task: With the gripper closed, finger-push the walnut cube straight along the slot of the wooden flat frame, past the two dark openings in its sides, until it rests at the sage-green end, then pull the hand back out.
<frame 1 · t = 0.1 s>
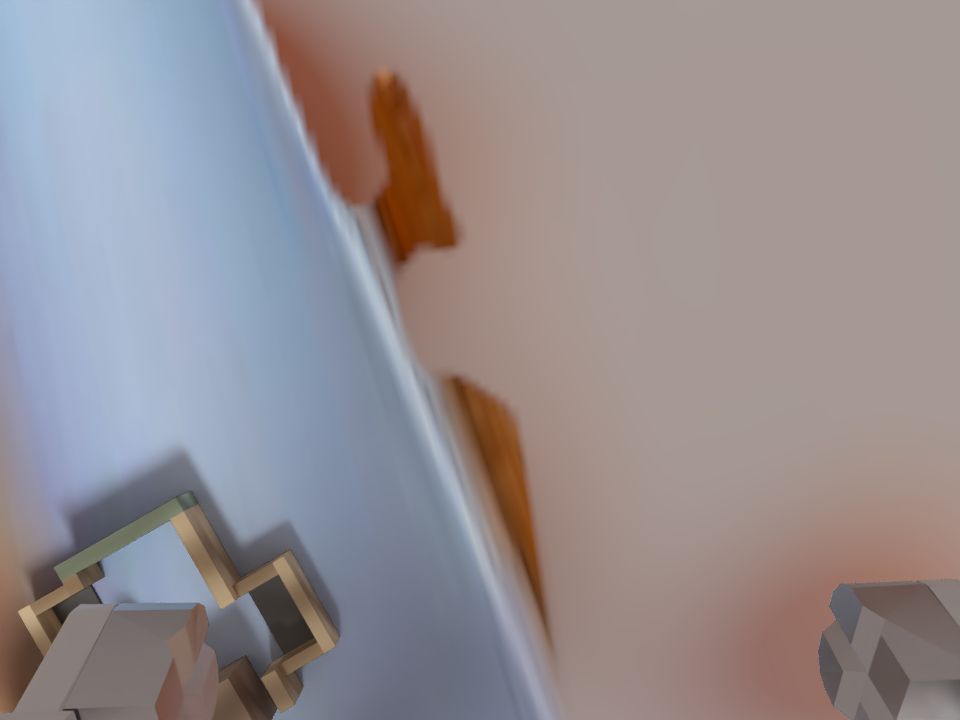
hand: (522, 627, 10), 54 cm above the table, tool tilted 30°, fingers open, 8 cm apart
wooden flat frame: (189, 622, 64), on the table
block: (234, 697, 64), on the table
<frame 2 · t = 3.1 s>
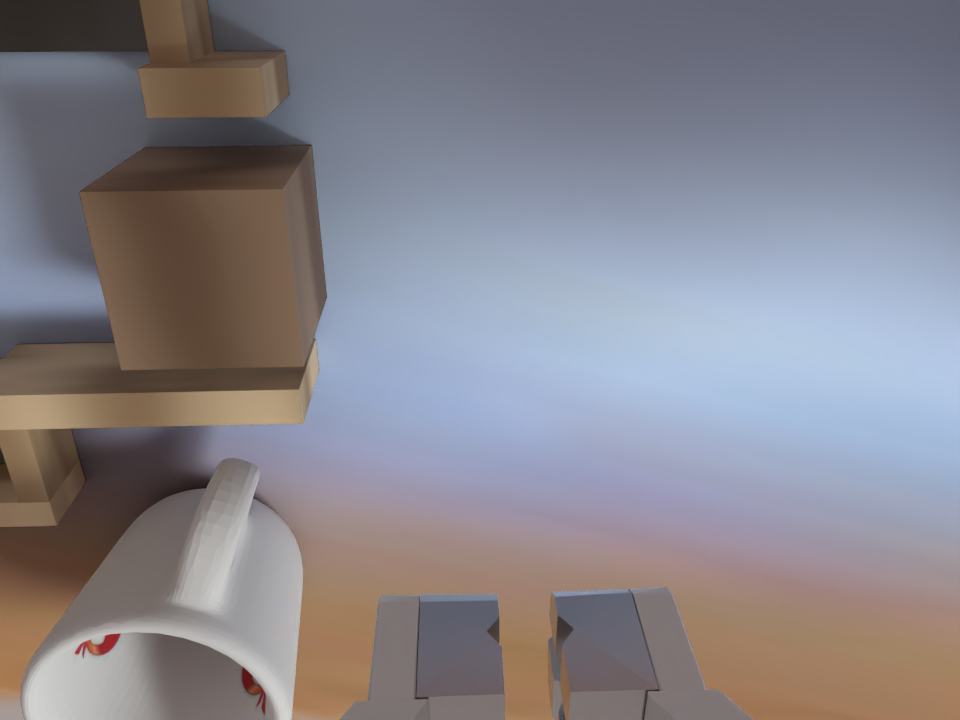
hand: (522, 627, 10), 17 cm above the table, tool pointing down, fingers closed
cup: (231, 513, 31), on the table
wooden flat frame: (15, 229, 25), on the table
block: (241, 225, 25), on the table
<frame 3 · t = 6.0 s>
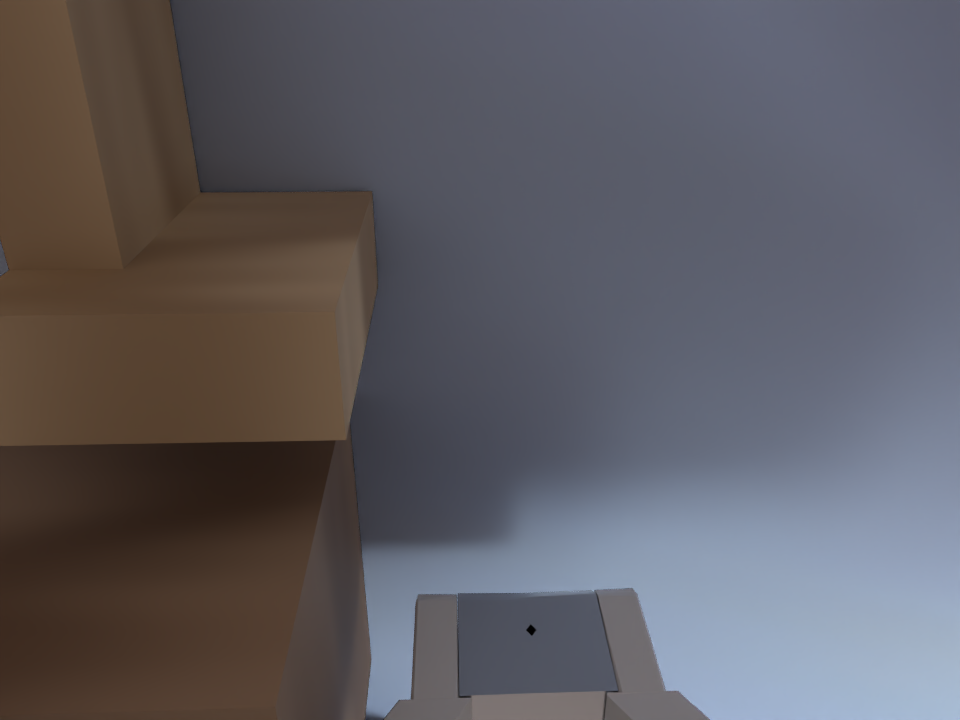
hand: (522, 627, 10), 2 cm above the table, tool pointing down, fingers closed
block: (189, 542, 12), on the table, touching gripper
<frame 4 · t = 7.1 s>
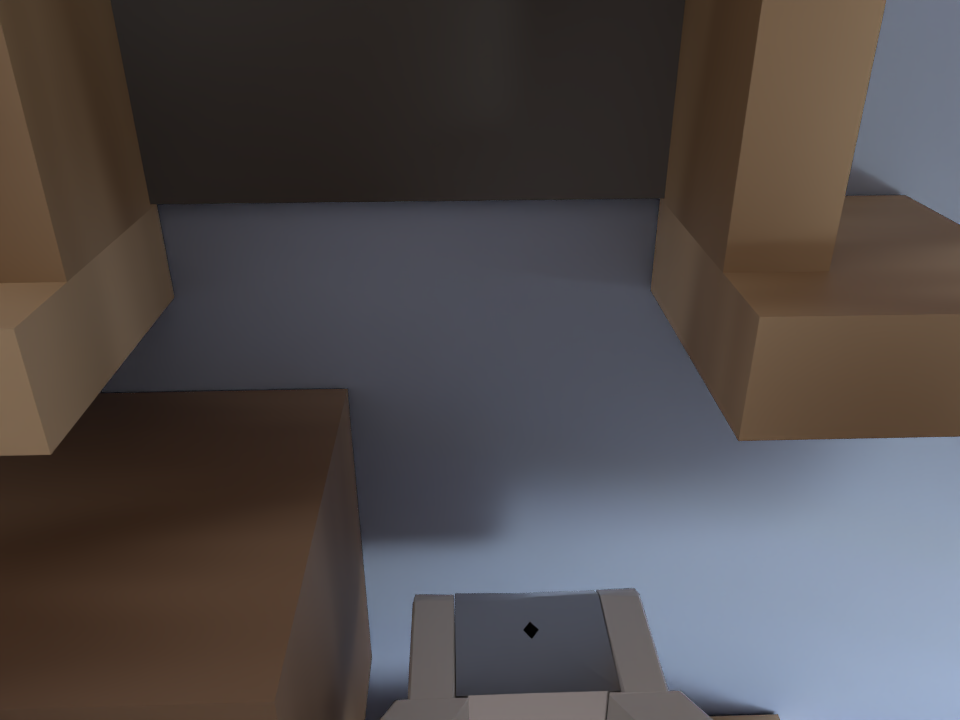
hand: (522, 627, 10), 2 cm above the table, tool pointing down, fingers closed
wooden flat frame: (222, 547, 12), on the table
block: (190, 539, 12), on the table, touching gripper
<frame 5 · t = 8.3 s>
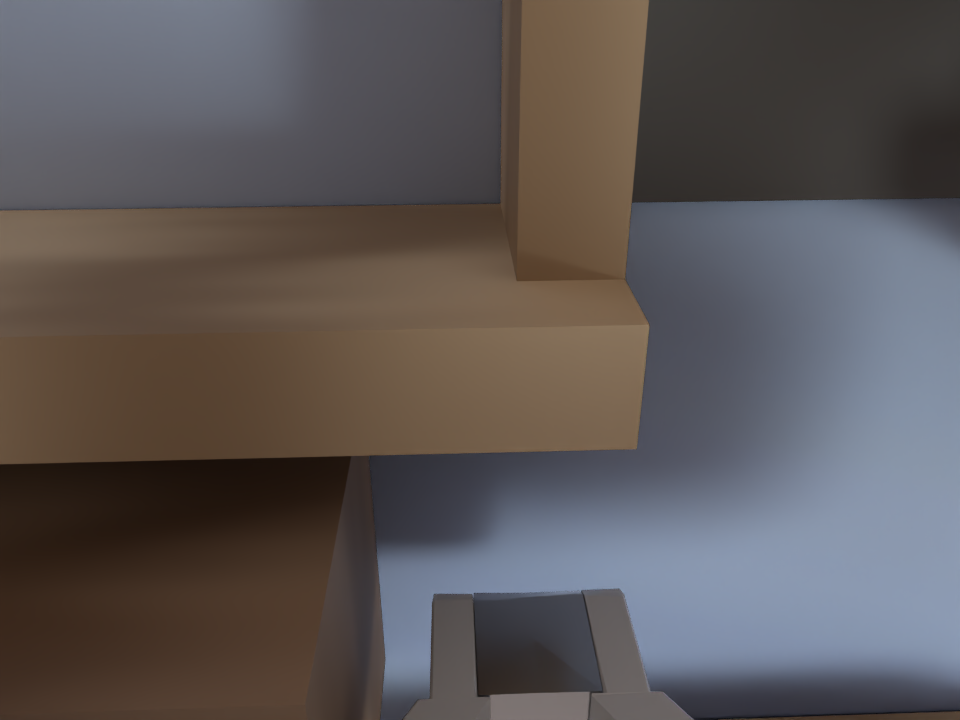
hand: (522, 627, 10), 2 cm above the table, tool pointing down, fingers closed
wooden flat frame: (564, 543, 12), on the table
block: (204, 542, 12), on the table, touching wooden flat frame, gripper
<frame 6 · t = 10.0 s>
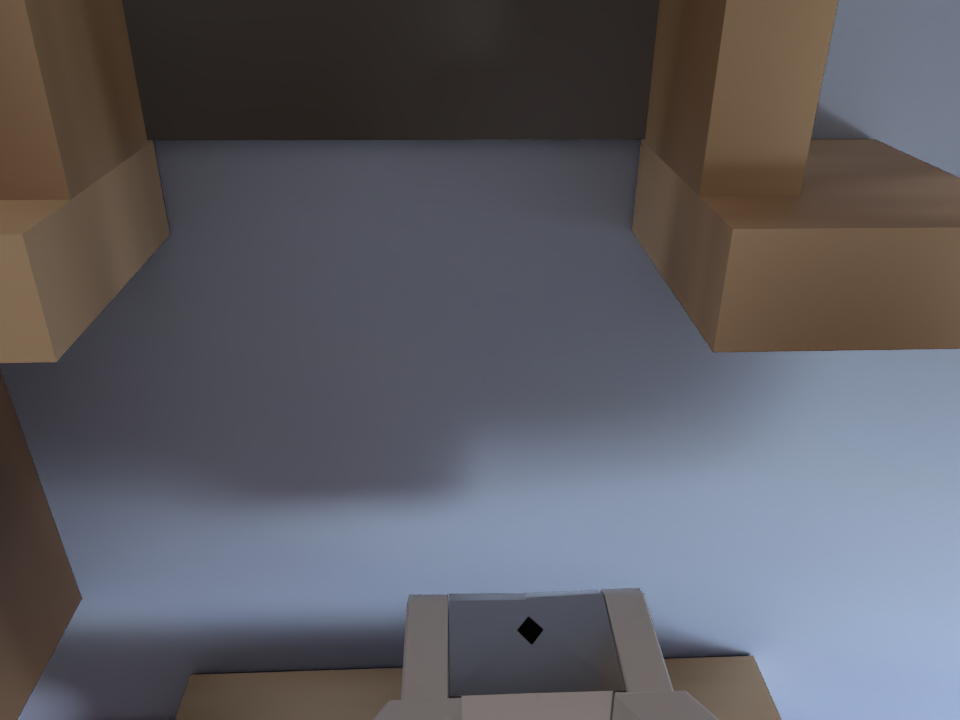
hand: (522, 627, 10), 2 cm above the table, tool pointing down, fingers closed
wooden flat frame: (215, 487, 12), on the table
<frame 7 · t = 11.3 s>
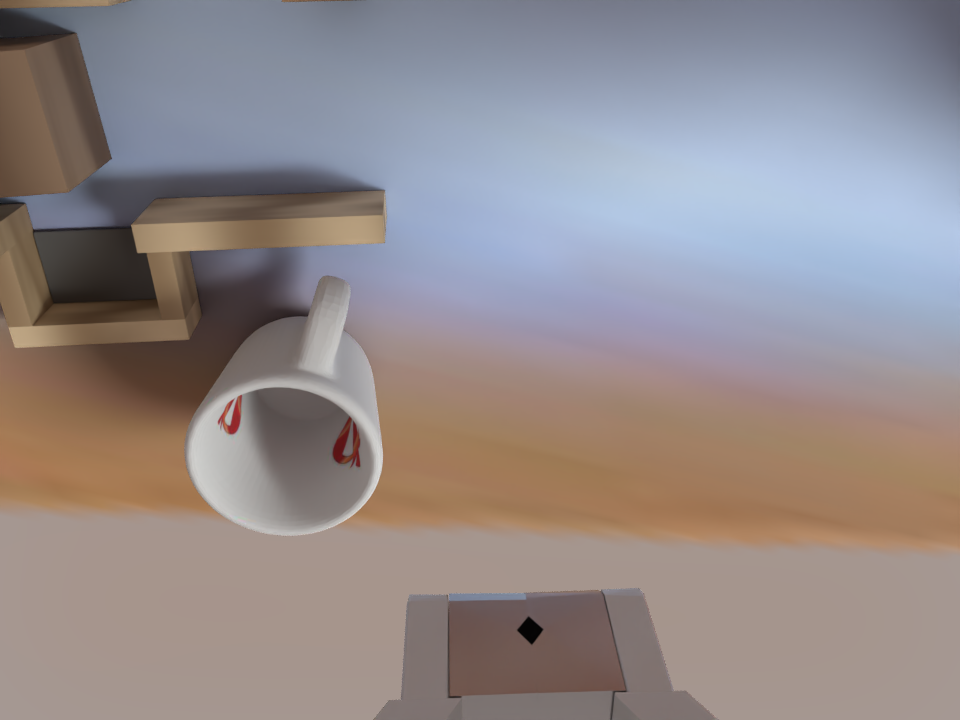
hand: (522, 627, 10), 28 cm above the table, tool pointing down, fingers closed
cup: (313, 342, 39), on the table
wooden flat frame: (159, 103, 33), on the table
block: (33, 102, 33), on the table
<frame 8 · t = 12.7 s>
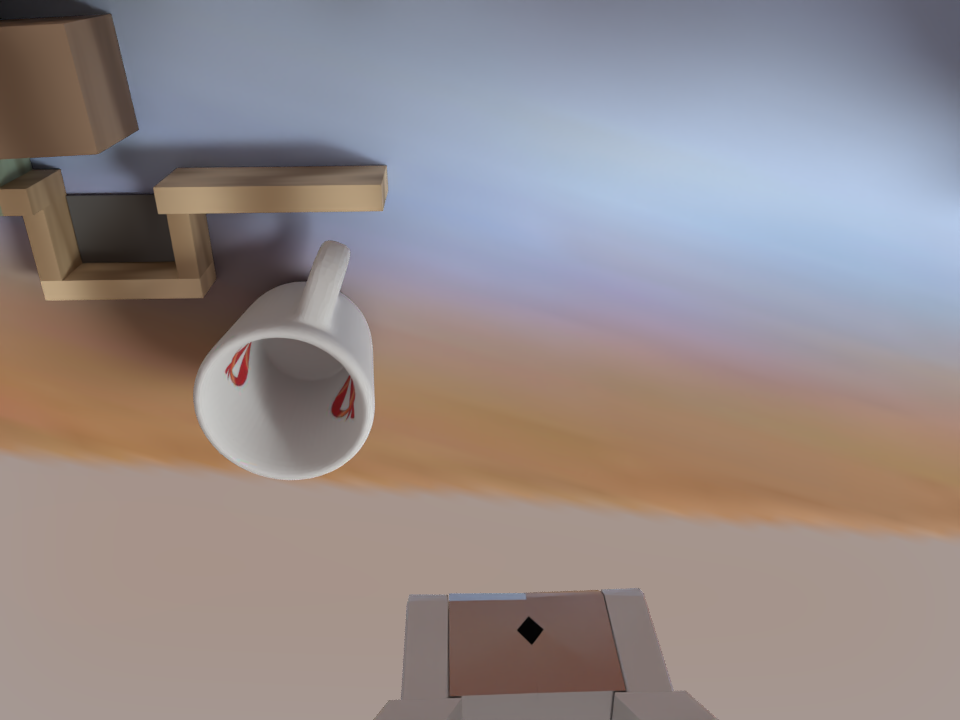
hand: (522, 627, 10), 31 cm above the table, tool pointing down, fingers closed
cup: (318, 307, 42), on the table
wooden flat frame: (183, 80, 37), on the table
block: (70, 76, 36), on the table
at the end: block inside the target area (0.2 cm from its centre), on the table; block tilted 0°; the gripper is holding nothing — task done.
